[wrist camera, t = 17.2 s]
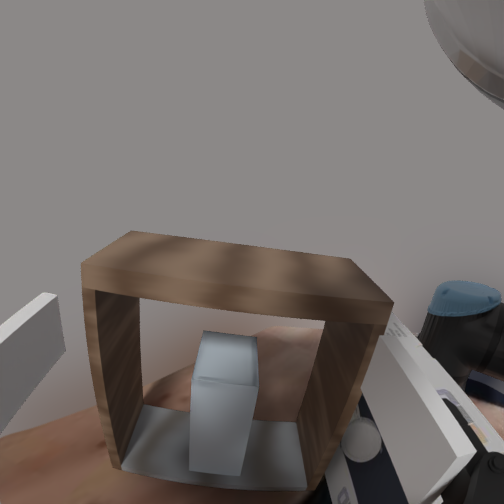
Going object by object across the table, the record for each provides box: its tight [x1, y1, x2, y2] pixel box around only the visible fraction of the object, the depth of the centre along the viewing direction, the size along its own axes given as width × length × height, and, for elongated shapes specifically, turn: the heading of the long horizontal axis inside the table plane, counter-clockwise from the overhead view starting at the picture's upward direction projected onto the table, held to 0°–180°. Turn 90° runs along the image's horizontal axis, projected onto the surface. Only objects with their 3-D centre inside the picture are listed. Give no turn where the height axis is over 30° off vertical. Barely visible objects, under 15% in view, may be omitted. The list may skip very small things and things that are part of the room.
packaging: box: [325, 311, 504, 504], centre depth 30 cm, size 30×6×20 cm, turn 2°
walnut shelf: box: [81, 231, 394, 491], centre depth 32 cm, size 24×12×26 cm, turn 91°
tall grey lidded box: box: [189, 331, 259, 476], centre depth 33 cm, size 6×9×15 cm, turn 1°
